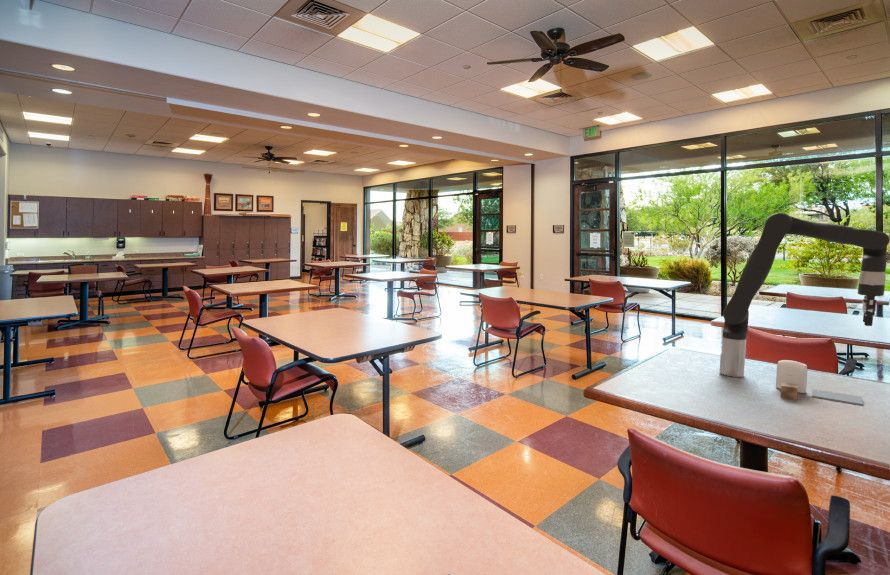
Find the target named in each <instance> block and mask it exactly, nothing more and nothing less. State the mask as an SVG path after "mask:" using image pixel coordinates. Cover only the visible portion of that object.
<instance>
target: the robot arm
mask: <svg viewBox="0 0 890 575" xmlns="http://www.w3.org/2000/svg"><path fill="white" fill-rule="evenodd" d="M786 235H794V236H804V237H809V238H813V239H817V240H820V241H821V240H822V241H825V242H830V243H834V244H835V243H836V244H841V245H842V244H843V245H847V246H848V245H850V246H855V247H860V248H862V260H861V265H860V273H859V277H858V284H857V287H858V288H857V294H858V295H860V296H864V297H863V299H862V313H863V315H862V316H863V317H862V322H863V323H864V326H867V327H872V326H873V322H874V317H875V315H876V313H875V312H876V311H877V304H878V300H877V299H876V297H883V296H884V295H885V288H886V277H887V276H886V271H887V258H886V255H887V248H888V245H889V244H890V236H889V235H888V234H887V233H885V232H883V231H880V230H873V229H872V230H871V229H862V228H857V227H853V226H849V225H848V226H847V225H843V224H841V225H840V224H834V223H826V222H819V221H818V222H817V221H809V220H804V219H802V218H801V219H800V218H797V217H794V216H791V215H789V214H787V213H784V212H776V213H773V214H770V215H769V216H768V217H767V218H766V220H765V223H764V226H763V229H762V233H761V235H760V238H759V240H758V242H757V244H756V246H755V248H754V249H753V250H752V252H751V254H750V255H749V258H748V259H747V261H746V263H745V265H744V266H743V267H744V268H743V270H742V271H741V274H740V276H739V279H738V282H737V285H736V288H735V289H734V292H733V294H732V297H731V298H730V300H729V301H728V303H727V304H726V306H725V307H724V309H723V311H722V318H723V320H724V325H723V330H722V336H721V337H722V339H721V340H722V341H721V353H720V357H719V358H720V359H719V375H723V374H724V375H723V376H726V375H727V377H731V376H732V378H733V377H734V378H741V377H744V376H745V368H746V367H745V364H746V353H747V352H746V350H747V348H746V347H747V336H748V331H749V330H748V329H749V315H750V313H749V312H750V311H749V309H750V306H751V304H752V301H753V299H754V297H755V296H756V295H757V293H758V292H759V290H760V289H761V287H762V286H763V284H764V283H765V281H766V280H767V277H768V275H769V273H770V271H771V269H772V266H773V264H774V261H775V259H776V255H777V252H778V248H779V246H780V244H781V242H782V241H783V239H784V237H785V236H786Z"/></svg>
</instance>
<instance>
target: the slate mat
mask: <svg viewBox="0 0 890 575" xmlns="http://www.w3.org/2000/svg"><path fill="white" fill-rule="evenodd" d="M815 397H816V399H821V398H822V400H827V399H828V400H827V401H834V402H841V403H845V404H852V405H857V406H862V405H864V402H863V397H862V396H859V395H854V394H847V393H840V392H833V391H827V390H822V389H815V388H812V390H811V398H815Z"/></svg>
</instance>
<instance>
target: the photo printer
mask: <svg viewBox="0 0 890 575" xmlns="http://www.w3.org/2000/svg"><path fill="white" fill-rule="evenodd" d="M775 377H776V379H775V388H776V389H780V390H781V385H782V382H784V383H790V384H797V385H798V392H797V393H801V394H805V393H807V386H808V365H807V364H805V363H802V362H800V361H795V360H791V359H790V360H789V359H782V360H778V361H777V364H776V376H775Z"/></svg>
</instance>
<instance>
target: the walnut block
mask: <svg viewBox="0 0 890 575" xmlns="http://www.w3.org/2000/svg"><path fill="white" fill-rule="evenodd" d="M798 393H799V392H798V385H797V384H790V383H784V382H782V385H781V389H780V398H781V399H786V400H793V401H797V400H798Z"/></svg>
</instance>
